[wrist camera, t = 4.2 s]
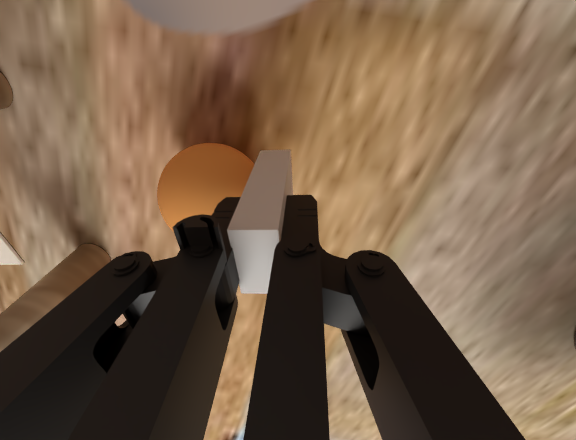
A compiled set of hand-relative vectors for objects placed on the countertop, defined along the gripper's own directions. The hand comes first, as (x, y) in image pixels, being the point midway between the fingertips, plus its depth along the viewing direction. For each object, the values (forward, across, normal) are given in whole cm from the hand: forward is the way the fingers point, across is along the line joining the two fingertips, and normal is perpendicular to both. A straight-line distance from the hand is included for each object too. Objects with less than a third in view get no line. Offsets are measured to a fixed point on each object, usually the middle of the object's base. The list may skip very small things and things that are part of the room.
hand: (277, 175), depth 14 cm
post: (+3, +16, +8) cm, 18 cm away
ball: (0, +4, +1) cm, 4 cm away
